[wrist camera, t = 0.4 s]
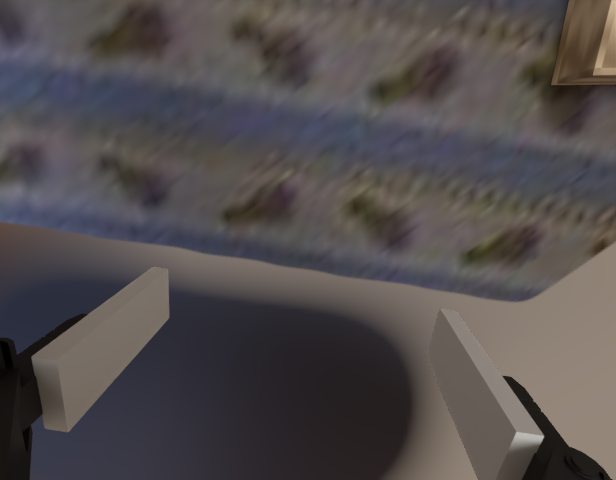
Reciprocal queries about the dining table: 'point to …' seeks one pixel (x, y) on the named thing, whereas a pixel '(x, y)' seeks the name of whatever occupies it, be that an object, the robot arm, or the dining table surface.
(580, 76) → the cabinet carcass
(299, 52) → the dining table surface
